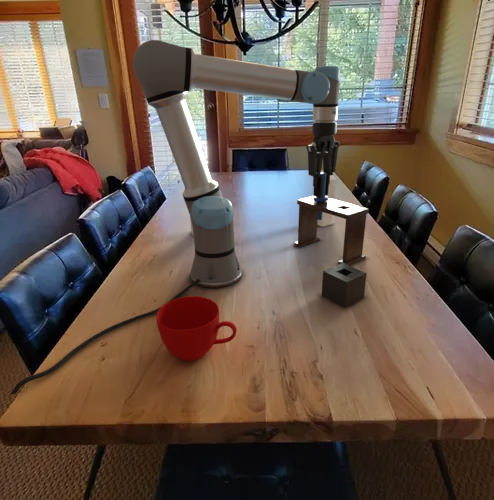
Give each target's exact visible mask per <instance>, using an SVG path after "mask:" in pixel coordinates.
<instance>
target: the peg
mask: <svg viewBox="0 0 494 500" xmlns="http://www.w3.org/2000/svg"><path fill="white" fill-rule="evenodd" d="M320 177H322V187H321V197H317V196H313V195H312V196H313V200H314V201H318V202H320V203H321V202H324V201H328V196H326V195H325V189H326V173H325V172H321V174H320ZM317 220H322V212H321V211H318V213H317Z"/></svg>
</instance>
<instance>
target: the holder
mask: <svg viewBox="0 0 494 500" xmlns="http://www.w3.org/2000/svg"><path fill="white" fill-rule="evenodd" d="M367 274H368V273H367V272H365V271H363V270H361V269H358V268H356V267H354V266H351V265H350V266H349V265H347V264H344V263H341V264H337V265H335V266H332V267H330V268H327V269H325V270H323V271H322V281H321V296H322V297H323V298H325V299H327V300H329V301H331V302H332V303H334V304H336V305H338V306H340V307H342V308H347V307H349V306H351V305H353V304H354V303H356V302H358V301H361V300H363V299H364V298H365V291H366V283H367V276H368V275H367Z"/></svg>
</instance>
